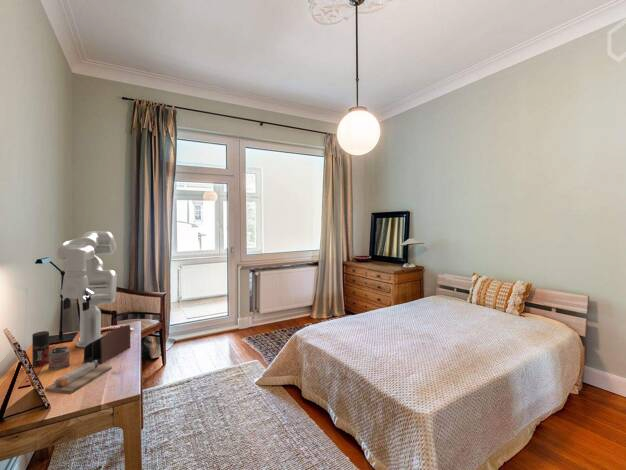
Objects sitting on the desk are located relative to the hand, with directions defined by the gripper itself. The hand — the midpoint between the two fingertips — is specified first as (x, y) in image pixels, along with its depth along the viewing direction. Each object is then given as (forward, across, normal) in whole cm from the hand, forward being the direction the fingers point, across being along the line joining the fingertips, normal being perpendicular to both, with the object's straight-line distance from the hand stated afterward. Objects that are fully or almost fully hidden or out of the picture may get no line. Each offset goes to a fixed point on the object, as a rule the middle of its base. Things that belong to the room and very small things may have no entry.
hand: (76, 309), depth 143 cm
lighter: (+28, -6, -3) cm, 29 cm away
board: (+27, +12, -11) cm, 32 cm away
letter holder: (+29, +5, +13) cm, 32 cm away
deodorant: (+28, -18, -1) cm, 34 cm away
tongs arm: (+26, +12, -12) cm, 31 cm away
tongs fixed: (+26, +11, -10) cm, 30 cm away
